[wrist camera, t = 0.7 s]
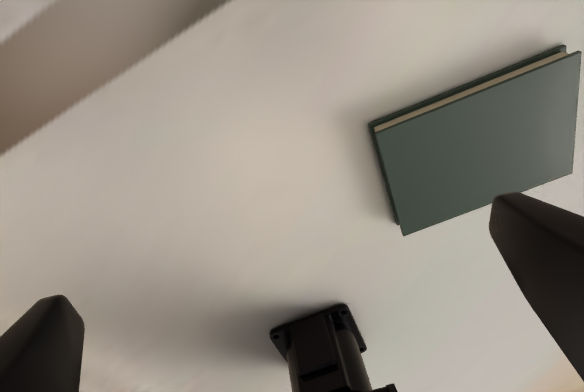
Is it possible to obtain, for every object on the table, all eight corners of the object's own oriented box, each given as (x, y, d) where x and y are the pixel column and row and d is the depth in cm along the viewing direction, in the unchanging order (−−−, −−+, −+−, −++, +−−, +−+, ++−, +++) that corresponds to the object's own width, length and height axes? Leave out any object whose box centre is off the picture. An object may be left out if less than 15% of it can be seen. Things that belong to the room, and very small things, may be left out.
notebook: (557, 162, 26) (572, 173, 25) (396, 223, 27) (403, 236, 26) (563, 44, 22) (581, 51, 21) (368, 123, 23) (375, 134, 22)
